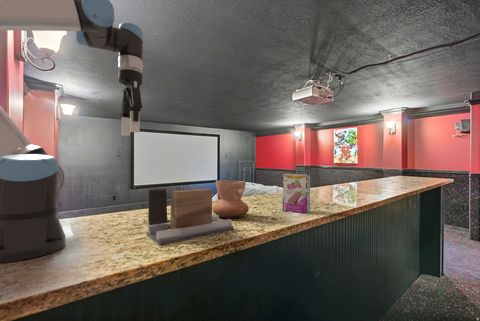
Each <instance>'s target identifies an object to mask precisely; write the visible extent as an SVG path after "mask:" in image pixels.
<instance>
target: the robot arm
mask: <svg viewBox="0 0 480 321" xmlns="http://www.w3.org/2000/svg"><path fill="white" fill-rule="evenodd" d="M115 17H116V16H115V7H114V6H113V3H112V2H111V0H0V31H27V32H28V31H32V32H33V31H37V32H40V31H41V32H42V31H51V32H52V31H54V32H56V31H57V32H58V31H60V32H64V31H65V32H75V35H76V36H75V37H76V38H75V39H76V42H77V43H78V44H79V45H81V46H85V47H89V48H94V49H99V50H103V51H108V52H113V53H118V83H120V84H121V85H124V86H125V87H124V88H123V89H122V98H121V108H120V114H119V115H120V117H121V136H123V137H125V136H127V137H130V136H131V133H140V130H141V129H140V128H141V127H140V126H141V125H140V123H141V120H140V119H141V109H143V104H142V98H141V96H142V95H141V88H140V87H141V86H142V85H143V76H144V75H143V69H144V68H145V65H144V64H143V60H144V57H143V56H144V54H143V53H144V38H143V37H144V36H143V30H142V28H141V27H139V25H137V24H135V23H131V22H128V23H127V22H122V23H120V24H119V27H114V23H115ZM64 182H65V173H64V170H63V168H62V167H61V166H60V165H59V163H58V158H57V157H56V156H54V155H49V154H48V153H47V151H46V150H45V149H44V148H43V147H42V146H40V145H35V144H32V142H31V141H30V140H29V139H28V137H27V136H26V135H25V134H24V132H22V130H21V129H20V128H19V127H18V125H17V124H16V123H15V122H14V121H13V119H12V118H11V116H9V114H8V113H7V112H6V111H5V109H4V108H3V107H2V105H0V263H11V262H18V261H25V260H30V259H34V258H38V257H39V258H40V257H43V256H46V255H50V254H52V253H55V252H57V251H59V250H61V249H62V248H64V247H65V246H66V234H65V231H64V229H63V226H62V223H61V221H60V218H59V216H58V197H59V196H58V192H60V190H61V189H62V187H63V186H64V184H65V183H64Z"/></svg>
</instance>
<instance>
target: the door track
mask: <svg viewBox="0 0 480 321" xmlns="http://www.w3.org/2000/svg"><path fill="white" fill-rule="evenodd" d="M234 229H235V228H234V225H233V220H232V218H226V219H220V216H219V215H216V214H215V215H213V214H212V222H208V223H202V224H197V225H191V226H185V227H179V228H173V229H171V221H170V222H168V221H167V223H161V224H155V225H149V224H148V225H147V231H146V236H147V237H148V238H150V239H151V240H152V241H153V242H155V243H156V244H157V245H159V246H161V245H165V244H166V245H167V244H171V243H176V242H177V243H178V242H180V241H182V242H183V241H185V240H191V239H195V238H196V239H197V238H200V237H201V238H202V237H205V236H209V235H210V236H211V235H215V234H220V233H224V232H228V231H234Z"/></svg>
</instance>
